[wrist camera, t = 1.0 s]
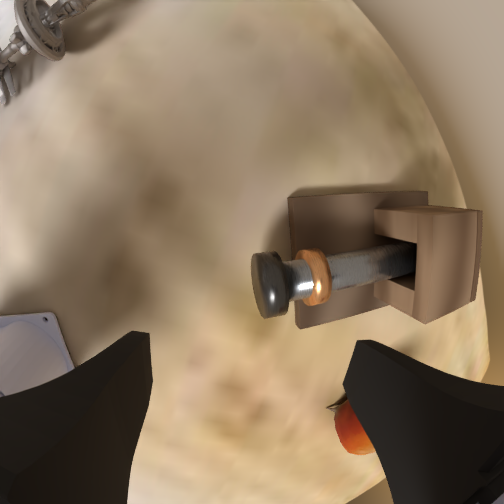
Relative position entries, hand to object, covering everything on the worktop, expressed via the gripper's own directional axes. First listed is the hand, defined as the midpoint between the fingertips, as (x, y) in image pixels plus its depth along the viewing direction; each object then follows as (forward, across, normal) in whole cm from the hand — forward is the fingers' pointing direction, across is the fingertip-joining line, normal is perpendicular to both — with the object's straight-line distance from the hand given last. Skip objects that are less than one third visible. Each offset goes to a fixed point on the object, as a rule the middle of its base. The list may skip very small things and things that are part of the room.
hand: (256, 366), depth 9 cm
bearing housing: (+13, -11, -2) cm, 17 cm away
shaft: (+11, -7, -1) cm, 13 cm away
